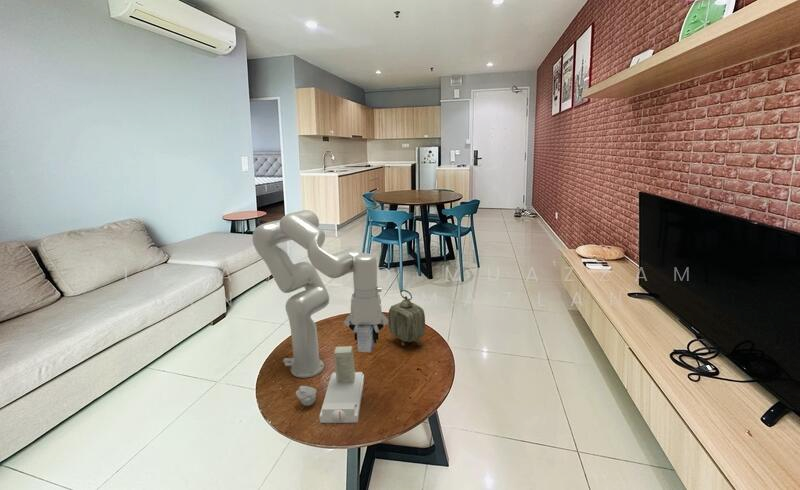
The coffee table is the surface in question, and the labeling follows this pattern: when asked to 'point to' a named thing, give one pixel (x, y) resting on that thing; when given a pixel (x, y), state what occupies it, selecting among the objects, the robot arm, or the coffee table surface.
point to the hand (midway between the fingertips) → (366, 340)
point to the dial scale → (342, 400)
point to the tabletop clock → (407, 320)
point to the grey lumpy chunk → (306, 395)
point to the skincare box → (344, 364)
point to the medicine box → (365, 338)
